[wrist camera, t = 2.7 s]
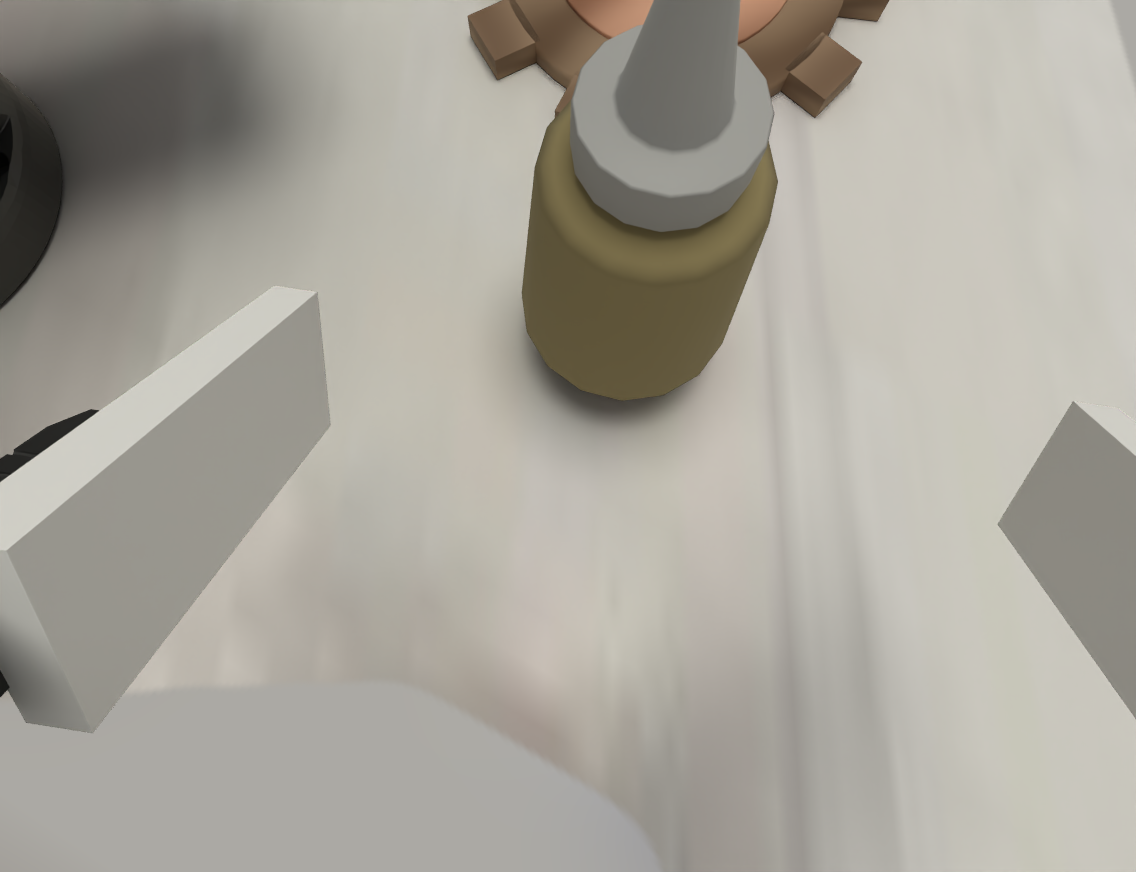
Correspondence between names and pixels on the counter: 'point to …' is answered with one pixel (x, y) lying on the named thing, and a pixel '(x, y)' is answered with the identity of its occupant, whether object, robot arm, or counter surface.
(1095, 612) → the robot arm
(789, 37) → the sprocket disc
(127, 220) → the counter surface
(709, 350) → the squeeze bottle
